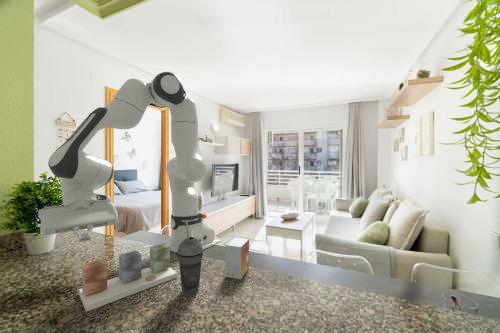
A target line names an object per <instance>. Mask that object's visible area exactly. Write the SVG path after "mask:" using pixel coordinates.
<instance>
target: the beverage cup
mask: <svg viewBox="0 0 500 333" xmlns="http://www.w3.org/2000/svg"><path fill="white" fill-rule="evenodd" d="M186 230H187V238H186V239H184V240H183V241H182V242H181V243H180V245H179V247H178V252H176V255H177V259H178V263H179V274H180V288H181V291H182V292H181V294H182V295H183V296H184V297H193V295H194V296H196V295H197V294H199V288H200V281H201V280H200V279H201V270H202V261H203V260H202V259H203V256H204V255H203V254H204V250H203V247H202V244H201V242H200V241H199V240H198V239H197V238H195V237H189V231H188V223H187V222H186Z"/></svg>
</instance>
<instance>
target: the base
mask: <svg viewBox="0 0 500 333" xmlns="http://www.w3.org/2000/svg"><path fill="white" fill-rule="evenodd" d="M177 278H178V272H176V270H174V269H172V267H170V268H167V269H164V270H161V271H158V272H153V271H152V270H151V269H150V266H149V267H145V268H141V277H140V278H137V279H134V280H131V281H128V282H125V283H123V282H122V281H121V280H120V278H119V276H117V277H113V278H110V279H107V289H105V290H102V291H99V292H96V293H93V294H90V295H87V296H85V294H84V292H83V287H81V288H79V289H78V295H79V298H80V300H81V303H82V304H83V307H84V311H85V312H86V313H87V312H89V311H92V310H95V309H97V308H100V307H103V306H104V305H108V304H110V303H114V302H115V301H118V300H119V301H120V299H121V300H122V299H124V298H126V297H129V296H132V295H134V294H137V293H139V292H143V291H145V290H148V289H151V288H153V287H155V286H158V285H161V284H164V283H166V282H168V281H171V280H174V279H177Z"/></svg>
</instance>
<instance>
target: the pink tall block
mask: <svg viewBox="0 0 500 333" xmlns="http://www.w3.org/2000/svg"><path fill="white" fill-rule="evenodd" d="M81 266H82V267H81V274H82V276H81V278H82V282H81V283H82V287H81V288H83V292H84V294H85V296H87V295H90V294H93V293H96V292H99V291H102V290H105V289H107V280H108V263H107V262H106V260H105V259H104V258H101V259H98V260H97V259H96V260H94V261H89V262H86V263H83V264H81Z"/></svg>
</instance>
